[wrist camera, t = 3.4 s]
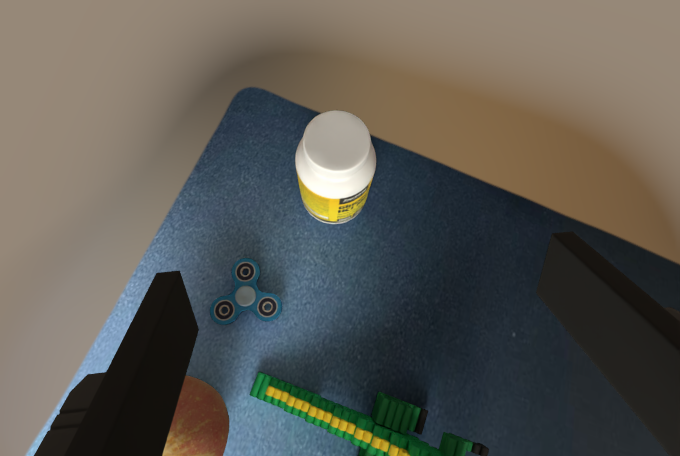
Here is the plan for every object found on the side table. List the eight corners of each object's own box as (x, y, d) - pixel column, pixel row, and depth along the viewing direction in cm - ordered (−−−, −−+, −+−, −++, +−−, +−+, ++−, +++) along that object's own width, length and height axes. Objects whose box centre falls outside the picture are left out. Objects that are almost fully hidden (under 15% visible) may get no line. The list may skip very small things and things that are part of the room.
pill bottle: (342, 238, 36) (348, 200, 25) (288, 202, 37) (272, 150, 26) (379, 186, 37) (399, 130, 27) (326, 152, 38) (325, 84, 27)
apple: (252, 382, 33) (228, 399, 25) (220, 499, 30) (183, 558, 23) (153, 357, 33) (99, 366, 25) (114, 471, 31) (41, 521, 23)
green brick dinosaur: (241, 417, 32) (209, 449, 23) (268, 348, 33) (247, 355, 25) (473, 510, 31) (529, 580, 22) (491, 435, 32) (550, 473, 24)
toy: (264, 346, 33) (262, 346, 32) (207, 317, 34) (203, 316, 33) (297, 281, 35) (296, 280, 34) (241, 254, 35) (239, 252, 34)
